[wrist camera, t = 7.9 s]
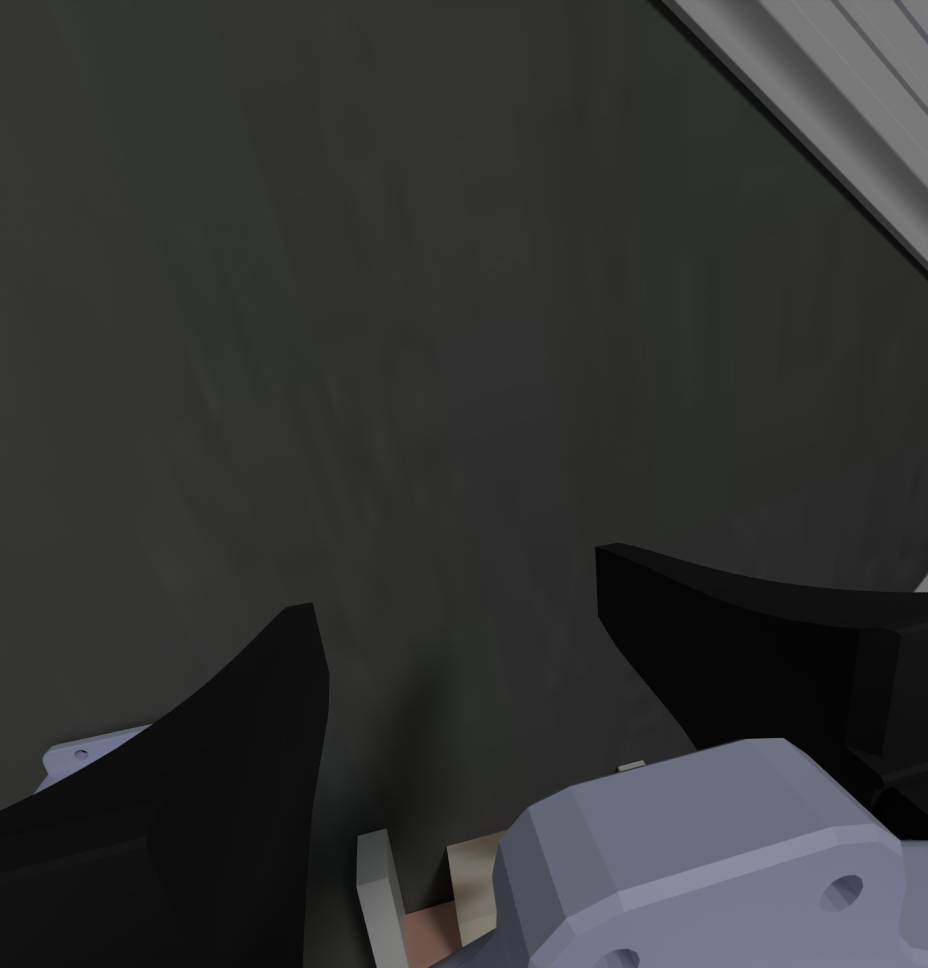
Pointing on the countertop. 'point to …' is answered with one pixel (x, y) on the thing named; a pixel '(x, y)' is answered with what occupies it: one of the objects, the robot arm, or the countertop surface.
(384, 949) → the block with end panels
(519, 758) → the countertop surface
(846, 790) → the robot arm
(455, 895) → the slat block
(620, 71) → the countertop surface
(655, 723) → the countertop surface
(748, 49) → the baseboard molding
